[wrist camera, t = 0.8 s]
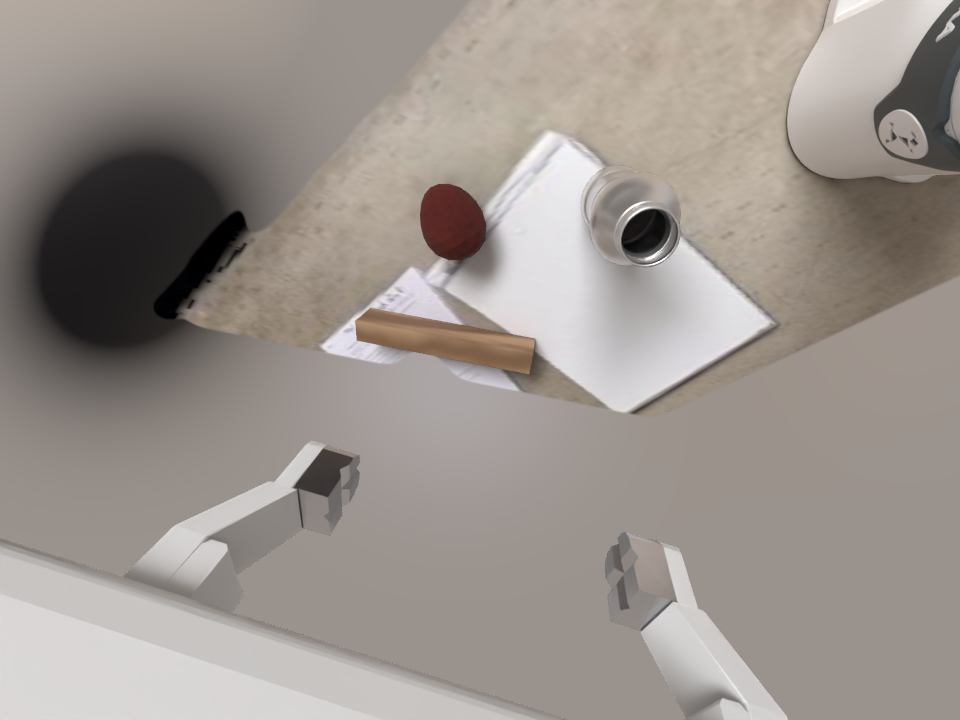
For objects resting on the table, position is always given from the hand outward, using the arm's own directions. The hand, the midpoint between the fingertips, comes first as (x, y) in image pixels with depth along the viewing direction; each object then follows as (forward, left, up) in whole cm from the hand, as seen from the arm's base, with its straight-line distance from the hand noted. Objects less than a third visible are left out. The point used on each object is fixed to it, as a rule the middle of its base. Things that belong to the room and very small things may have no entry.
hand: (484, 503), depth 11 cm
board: (+18, +3, -37) cm, 41 cm away
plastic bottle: (-8, +2, -38) cm, 39 cm away
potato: (+6, -8, -38) cm, 39 cm away
